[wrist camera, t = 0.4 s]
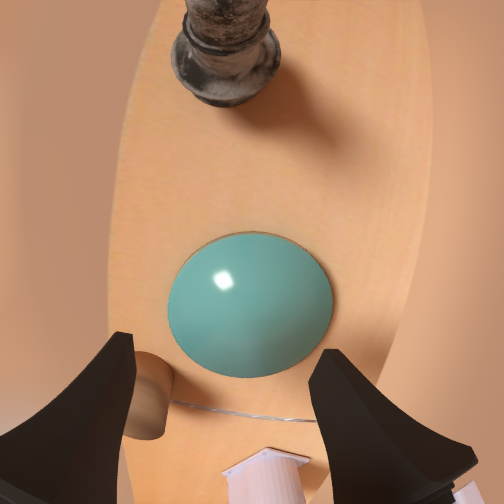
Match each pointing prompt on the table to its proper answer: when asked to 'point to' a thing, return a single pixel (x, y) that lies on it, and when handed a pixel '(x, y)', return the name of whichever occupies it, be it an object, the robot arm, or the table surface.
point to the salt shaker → (225, 50)
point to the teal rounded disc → (249, 305)
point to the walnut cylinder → (149, 398)
